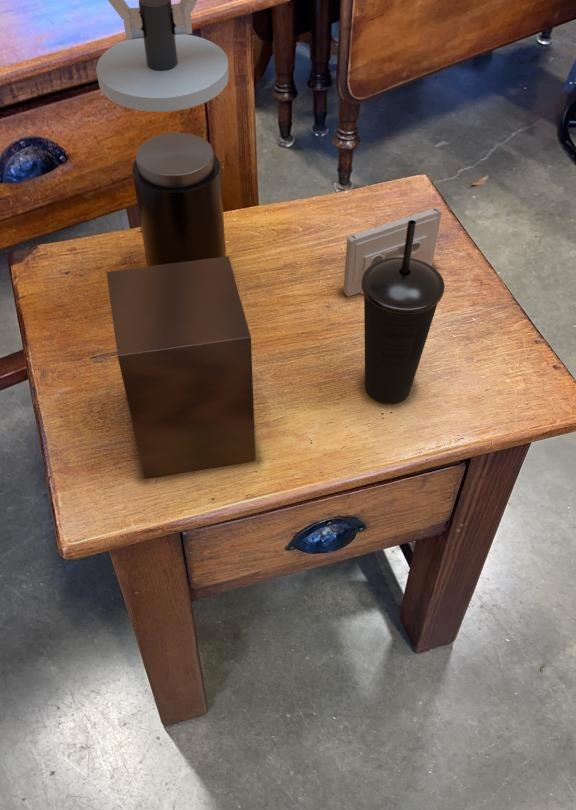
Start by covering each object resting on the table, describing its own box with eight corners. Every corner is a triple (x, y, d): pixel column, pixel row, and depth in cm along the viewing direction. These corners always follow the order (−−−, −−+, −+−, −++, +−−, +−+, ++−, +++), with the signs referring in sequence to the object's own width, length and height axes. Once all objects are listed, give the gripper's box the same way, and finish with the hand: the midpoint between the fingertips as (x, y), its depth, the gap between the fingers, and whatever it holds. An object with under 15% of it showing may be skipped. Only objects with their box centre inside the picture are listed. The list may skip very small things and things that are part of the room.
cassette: (348, 300, 96) (353, 243, 89) (340, 290, 97) (344, 234, 90) (434, 269, 99) (445, 213, 93) (426, 260, 100) (435, 204, 94)
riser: (144, 478, 80) (117, 356, 67) (132, 397, 86) (106, 271, 73) (255, 460, 81) (251, 337, 68) (236, 382, 88) (228, 255, 75)
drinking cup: (424, 365, 89) (455, 199, 73) (423, 417, 85) (457, 252, 69) (353, 359, 90) (369, 193, 74) (349, 411, 85) (365, 246, 69)
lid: (103, 119, 68) (89, 39, 63) (94, 53, 74) (80, -24, 69) (238, 104, 69) (234, 25, 64) (218, 41, 75) (213, -35, 70)
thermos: (154, 306, 95) (134, 183, 82) (145, 257, 100) (125, 134, 88) (233, 295, 96) (226, 172, 83) (220, 247, 101) (211, 125, 89)
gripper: (-21, -151, 54) (32, 65, 66) (284, -172, 57) (285, 39, 68) (-20, -181, 58) (30, 28, 69) (267, -200, 60) (270, 5, 72)
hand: (159, 33), depth 69 cm, fingers closed on lid, 2 cm apart
